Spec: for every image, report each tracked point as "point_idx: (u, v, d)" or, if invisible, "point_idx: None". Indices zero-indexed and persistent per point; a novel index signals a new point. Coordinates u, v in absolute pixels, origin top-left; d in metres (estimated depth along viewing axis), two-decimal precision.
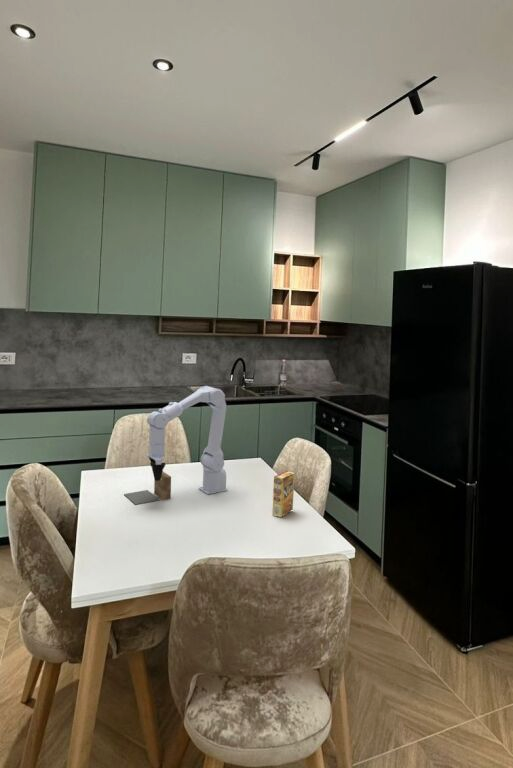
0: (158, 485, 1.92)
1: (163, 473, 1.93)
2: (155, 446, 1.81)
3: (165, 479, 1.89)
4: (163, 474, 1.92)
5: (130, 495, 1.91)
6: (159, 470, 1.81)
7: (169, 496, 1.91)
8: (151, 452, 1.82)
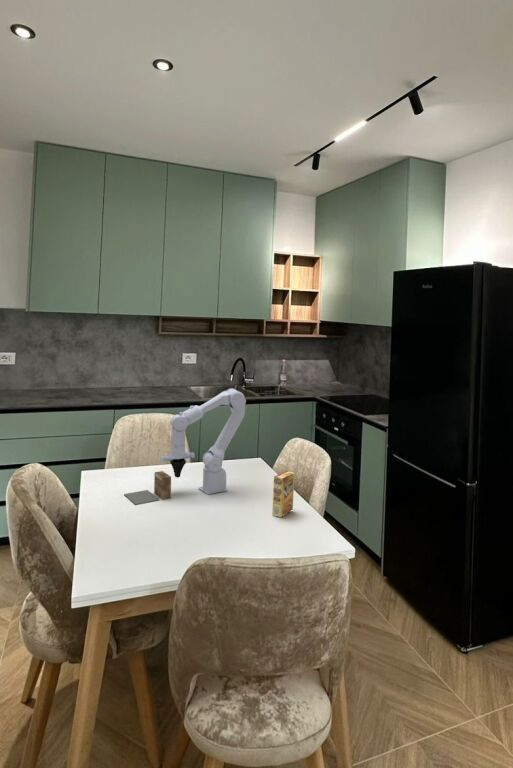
0: (158, 485, 1.92)
1: (163, 473, 1.93)
2: (171, 446, 1.94)
3: (165, 479, 1.89)
4: (163, 474, 1.92)
5: (130, 495, 1.91)
6: (176, 467, 1.95)
7: (169, 496, 1.91)
8: None
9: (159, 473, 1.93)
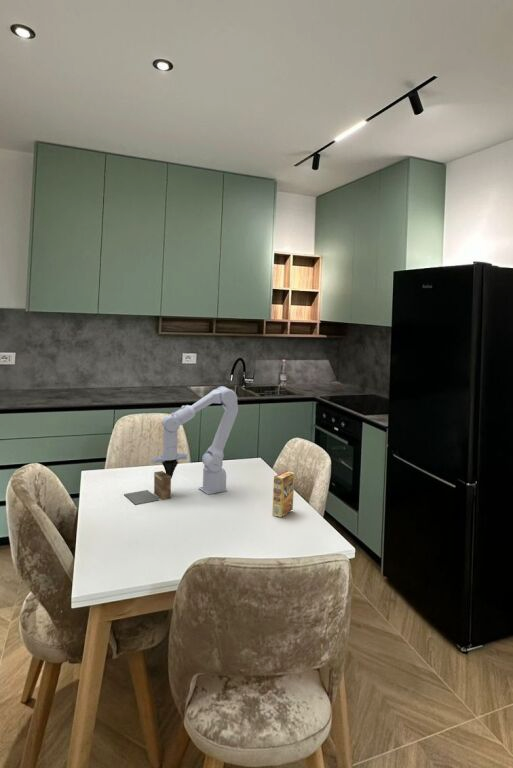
0: (158, 485, 1.92)
1: (163, 473, 1.93)
2: (163, 447, 1.91)
3: (164, 479, 1.88)
4: (163, 474, 1.92)
5: (130, 495, 1.91)
6: None
7: (169, 496, 1.91)
8: None
9: (159, 473, 1.93)
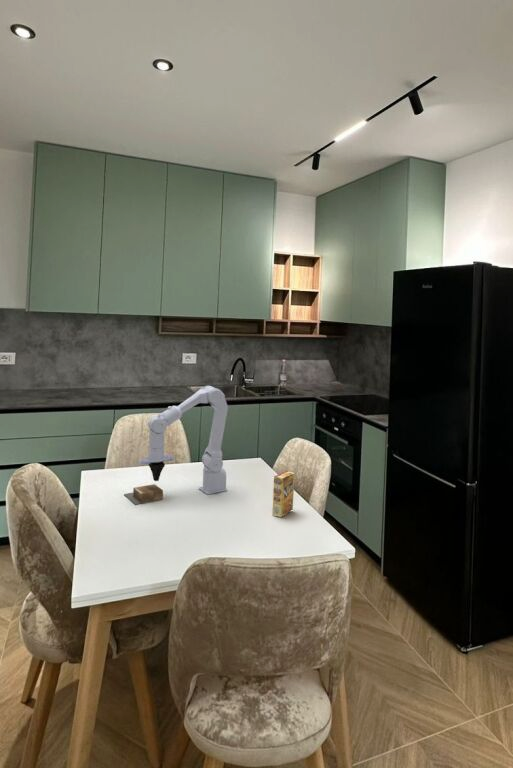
0: None
1: (136, 492, 1.87)
2: (149, 448, 1.88)
3: (143, 500, 1.84)
4: (137, 494, 1.87)
5: (130, 495, 1.91)
6: None
7: (160, 491, 1.88)
8: None
9: (135, 495, 1.88)
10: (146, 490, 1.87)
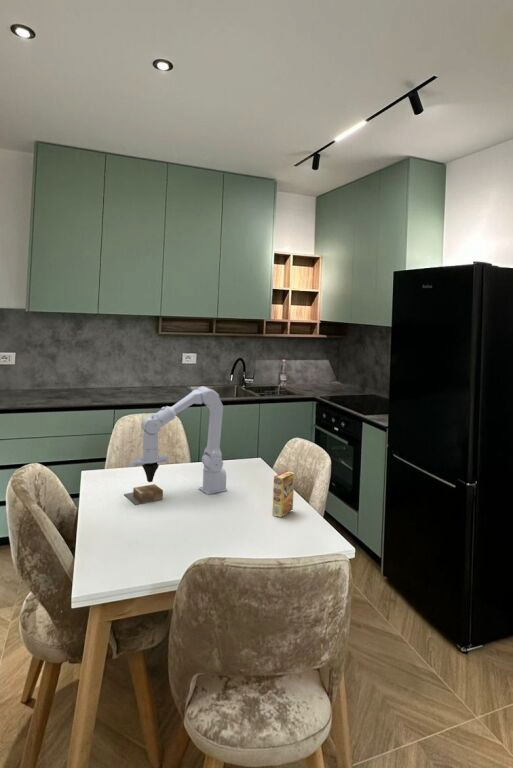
0: None
1: (136, 492, 1.87)
2: (143, 449, 1.87)
3: (143, 500, 1.84)
4: (137, 494, 1.87)
5: (130, 495, 1.91)
6: None
7: (160, 491, 1.88)
8: None
9: (135, 495, 1.88)
10: (146, 490, 1.87)
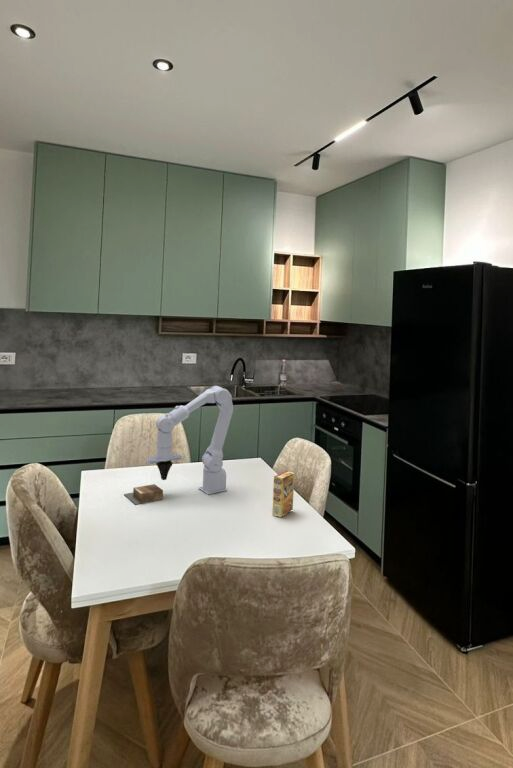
0: None
1: (136, 492, 1.87)
2: (157, 448, 1.90)
3: (143, 500, 1.84)
4: (137, 494, 1.87)
5: (130, 495, 1.91)
6: None
7: (160, 491, 1.88)
8: None
9: (135, 495, 1.88)
10: (146, 490, 1.87)
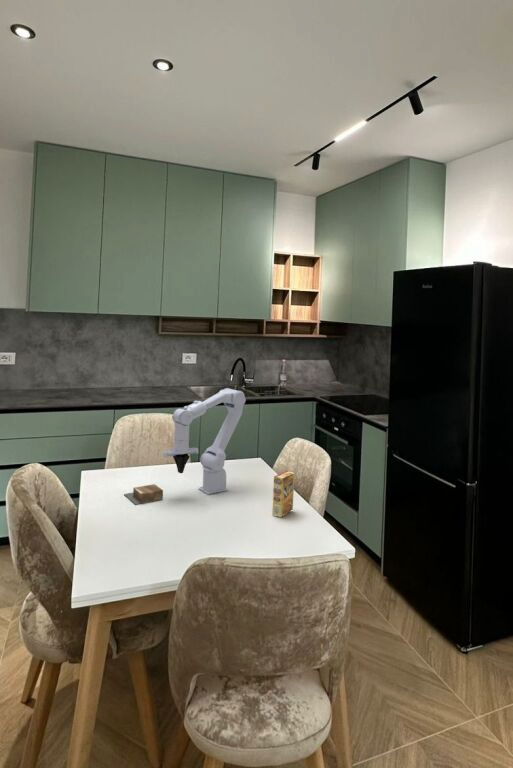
0: None
1: (136, 492, 1.87)
2: (174, 440, 1.88)
3: (143, 500, 1.84)
4: (137, 494, 1.87)
5: (130, 495, 1.91)
6: None
7: (160, 491, 1.88)
8: None
9: (135, 495, 1.88)
10: (146, 490, 1.87)
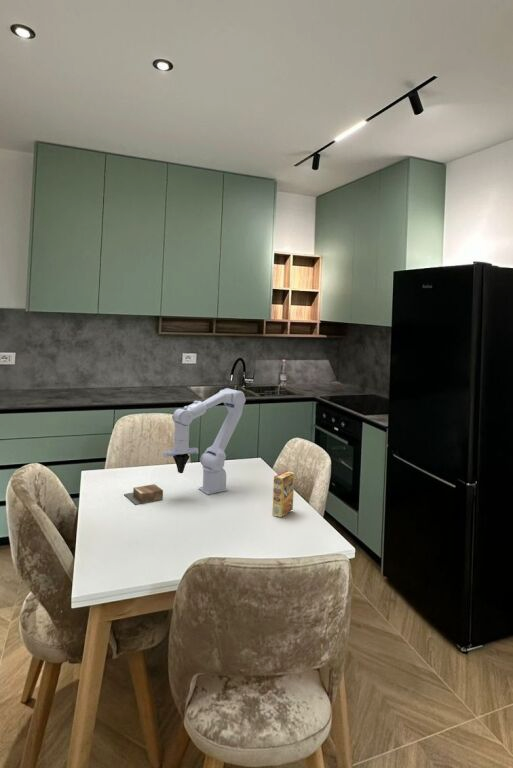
0: None
1: (136, 492, 1.87)
2: (174, 440, 1.88)
3: (143, 500, 1.84)
4: (137, 494, 1.87)
5: (130, 495, 1.91)
6: None
7: (160, 491, 1.88)
8: None
9: (135, 495, 1.88)
10: (146, 490, 1.87)
